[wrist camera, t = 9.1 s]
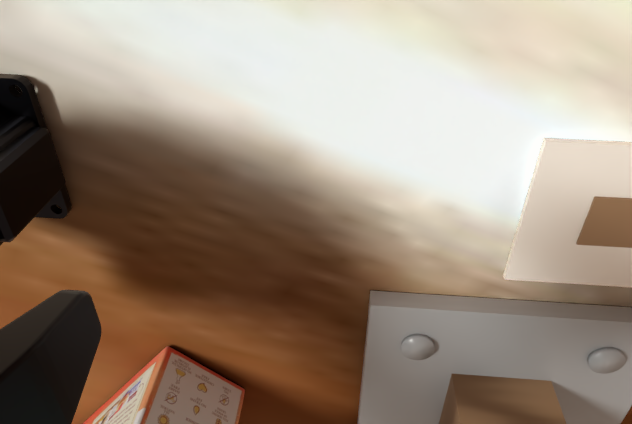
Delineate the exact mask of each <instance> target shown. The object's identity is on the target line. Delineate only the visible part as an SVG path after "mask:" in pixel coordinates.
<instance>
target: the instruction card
mask: <svg viewBox="0 0 632 424" xmlns="http://www.w3.org/2000/svg"><path fill="white" fill-rule="evenodd" d="M503 277H504V280H520V281H536V282H552V283H568V284H584V285H600V286H616V287H632V142H618V141H596V140H574V139H552V138H544V139H543V143H542V146H541V149H540V153H539V156H538V159H537V163H536V166H535V169H534V173H533V176H532V179H531V183H530V186H529V190H528V193H527V196H526V200H525V203H524V206H523V210H522V213H521V216H520V220H519V223H518V227H517V230H516V233H515V237H514V240H513V243H512V247H511V250H510V253H509V257H508V260H507V263H506V267H505V270H504V274H503Z"/></svg>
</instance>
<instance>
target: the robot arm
mask: <svg viewBox="0 0 632 424" xmlns="http://www.w3.org/2000/svg"><path fill="white" fill-rule="evenodd" d="M15 85H17V86H18V87H19V88H20V89H21V90H22V93H20V92H19V91H17V89H16V88H15ZM56 205H58V206H59V207H61V209H60V208H58V207H57V206H56ZM71 209H72V205H71V202H70V199H69V196H68V192H67V189H66V186H65V179H64V176H63V173H62V170H61V167H60V164H59V160H58V157H57V154H56V151H55V148H54V145H53V142H52V139H51V135H50V133H49V132H48V130H47V127H46V124H45V121H44V118H43V115H42V112H41V109H40V105H39V102H38V99H37V96H36V93H35V90H34V87H33V85H32V83H31V82H30V81H29V80H28V79H27V78H25V77H23V76H21V75H11V74H0V245H1V244H2V243H3V242H11V241H13V239H14V238H15V237H16V236H17V235H18V234H19V233H20V232H21V231H22V230H23V229H24V228H25V227H26V226H27V224H28V223H29V222H30V221H31V220H32V219H33V218H34V217H43V218H64V217H66V216H67V215H68V214H69V212H70V211H71ZM100 337H101V324H100V321H99V318H98V315H97V312H96V309H95V306H94V303H93V301H92V298H91V296H90V294H89V293H88V292H85V291H78V290H62V291H59V292H57V293H56V294H54V295H53V296H51V297H49V298H48V299H46V300H45V301H43V302H42V303H40V304H39V305H37V306H36V307H34V308H33V309H31V310H29V311H28V312H26V313H25V314H23V315H22V316H20V317H19V318H17V319H16V320H14V321H13V322H11V323H9V324H8V325H6V326H5V327H3V328H2V329H0V424H71V423H72V420H73V417H74V415H75V412H76V409H77V406H78V403H79V400H80V397H81V394H82V391H83V388H84V386H85V383H86V380H87V377H88V374H89V371H90V368H91V365H92V362H93V359H94V356H95V353H96V350H97V347H98V344H99V341H100Z"/></svg>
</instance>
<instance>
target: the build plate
mask: <svg viewBox="0 0 632 424" xmlns="http://www.w3.org/2000/svg"><path fill="white" fill-rule="evenodd" d="M451 374H466V375H479V376H493V377H506V378H520V379H533V380H547V381H551V382H552V385H553V387H554V390H555V393H556V396H557V399H558V401H559V404H560V407H561V410H562V413H563V415H564V418H565V421H566V424H621V422H622V420H623V419H624V417H625V416H626V414H627V412H628V411H629V409H630V407H631V406H632V307H619V306H603V305H588V304H572V303H557V302H541V301H526V300H510V299H495V298H479V297H464V296H448V295H433V294H417V293H402V292H386V291H371V290H370V299H369V309H368V320H367V330H366V340H365V350H364V360H363V370H362V380H361V390H360V400H359V410H358V421H357V424H439V421H440V417H441V413H442V409H443V405H444V402H445V398H446V394H447V390H448V386H449V382H450V378H451Z"/></svg>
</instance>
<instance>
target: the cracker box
mask: <svg viewBox="0 0 632 424" xmlns="http://www.w3.org/2000/svg"><path fill="white" fill-rule="evenodd" d="M244 394H245V389H244V388H242V387H240V386H238V385H236V384H235V383H233V382H231V381H229V380H227V379H225V378H224V377H222V376H220V375H219V374H217V373H215V372H213V371H211V370H210V369H208V368H206V367H204V366H203V365H201V364H199V363H197V362H196V361H194V360H192V359H190V358H189V357H187V356H185V355H183V354H182V353H180V352H178V351H176V350H174V349H173V348H171V347H169V346H167V347H166V348H164V349H163V350H162V351H161V352H160V353H159V354H158V355H157V356H156V357H154V358H153V359H152V360H151V361H150V362H149V363H148V364H147V365H146V366H145V367H143V368H142V369H141V370H140V371H139V372H138V373H137V374H136V375H135V376H134V377H133V378H132V379H130V380H129V381H128V382H127V383H126V384H125V385H124V386H123V387H122V388H121V389H120V390H119V391H118V392H116V393H115V394H114V395H113V396H112V397H111V398H110V399H109V400H108V401H107V402H106V403H105V404H103V405H102V406H101V407H100V408H99V409H98V410H97V411H96V412H95V413H94V414H93V415H91V416H90V417H89V418H88V419H87V420H86V421H85V422H84V423H83V424H238V423H239V418H240V413H241V409H242V405H243V399H244Z"/></svg>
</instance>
